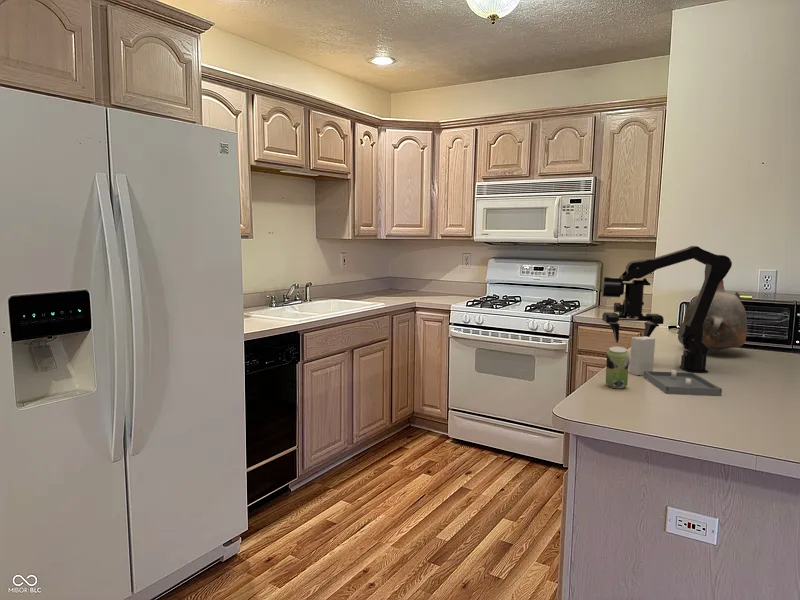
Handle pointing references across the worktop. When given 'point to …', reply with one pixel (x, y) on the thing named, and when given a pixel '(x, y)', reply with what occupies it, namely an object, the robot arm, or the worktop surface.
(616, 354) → the beverage can
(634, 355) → the skincare box
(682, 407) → the worktop surface
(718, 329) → the jug
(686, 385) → the tray
